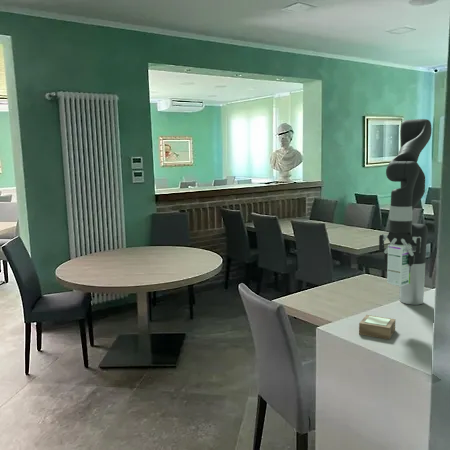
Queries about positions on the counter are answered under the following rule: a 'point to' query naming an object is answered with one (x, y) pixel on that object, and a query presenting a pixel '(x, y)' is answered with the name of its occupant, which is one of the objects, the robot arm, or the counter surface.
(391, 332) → the plinth
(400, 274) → the syrup box
